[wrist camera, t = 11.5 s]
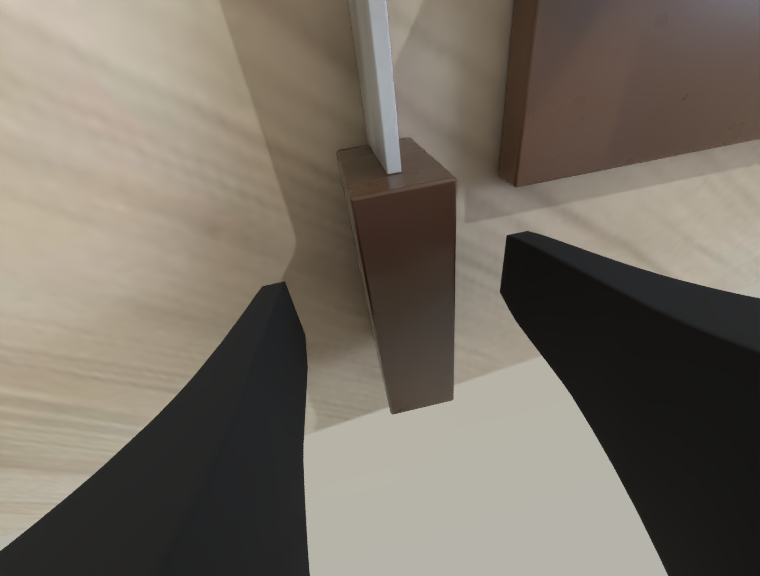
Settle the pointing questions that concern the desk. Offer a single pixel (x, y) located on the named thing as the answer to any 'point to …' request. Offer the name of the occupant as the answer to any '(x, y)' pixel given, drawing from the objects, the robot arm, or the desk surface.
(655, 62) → the butter board
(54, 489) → the desk surface
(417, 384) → the knife
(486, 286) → the desk surface
